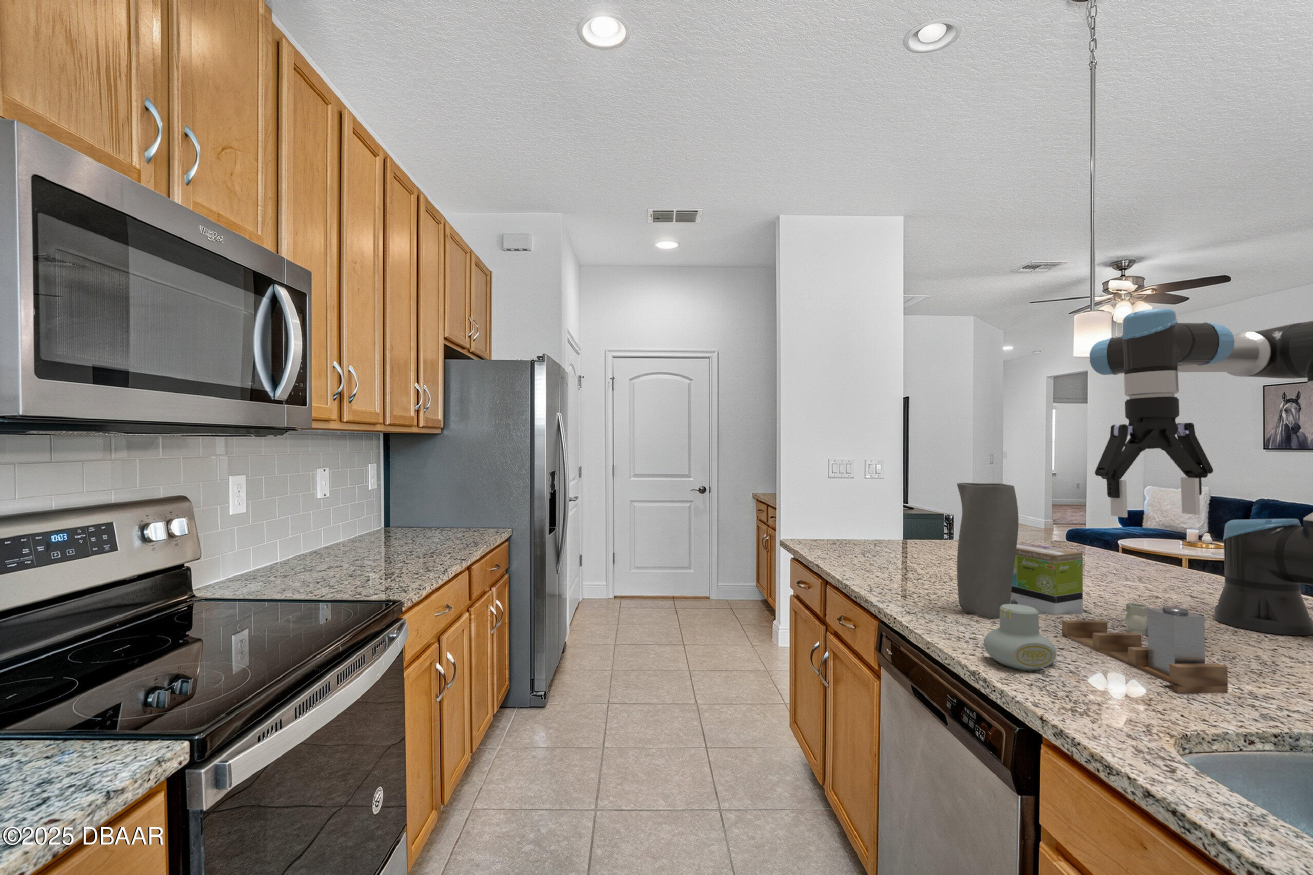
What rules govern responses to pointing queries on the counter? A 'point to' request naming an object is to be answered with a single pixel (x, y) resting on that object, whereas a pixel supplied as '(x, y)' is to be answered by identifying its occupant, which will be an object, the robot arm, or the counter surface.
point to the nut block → (1174, 638)
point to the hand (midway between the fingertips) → (1155, 515)
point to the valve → (1138, 618)
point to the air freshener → (1019, 640)
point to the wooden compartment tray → (1146, 657)
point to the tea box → (1048, 579)
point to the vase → (986, 547)
